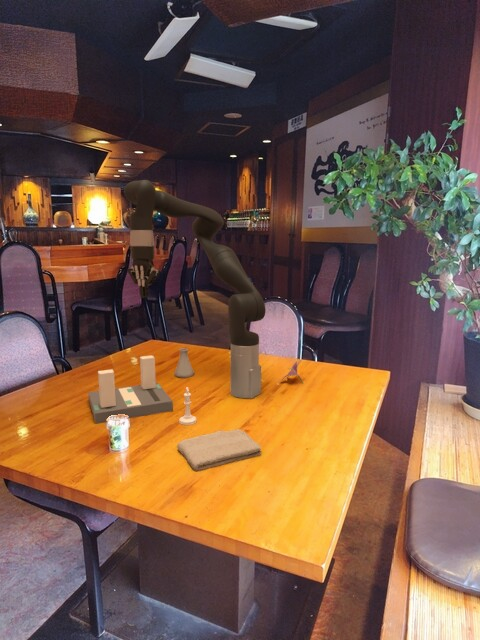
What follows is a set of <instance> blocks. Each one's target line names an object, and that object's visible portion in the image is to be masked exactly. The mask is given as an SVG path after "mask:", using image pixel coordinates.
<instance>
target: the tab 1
mask: <svg viewBox="0 0 480 640" xmlns="http://www.w3.org/2000/svg"><path fill="white" fill-rule="evenodd" d="M97 376H98V379H97V380H98V391H99V396H100V406H101V408H104V407H111V406H116V400H115V388H116V386H115V384H116V383H115V371H114V370H113V368H111V369H105V370H98V371H97Z"/></svg>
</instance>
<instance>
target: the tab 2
mask: <svg viewBox="0 0 480 640" xmlns="http://www.w3.org/2000/svg"><path fill="white" fill-rule="evenodd" d="M155 359H156V358H155V357H154V355H143V356H140V357H139V364H140V385H141V387H142V388H143V390H144V389H151V388H156V383H157V382H156V363H155V362H156V361H155Z"/></svg>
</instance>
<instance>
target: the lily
mask: <svg viewBox="0 0 480 640" xmlns="http://www.w3.org/2000/svg"><path fill="white" fill-rule="evenodd" d="M302 361H303V359H301V360H299V362H298V360H296V361H295V362H293V363H294V364H292V366H291V367H289V368H288V370H290V371H289V372H287V374H286V375H284V376H283V377H282V379H281V380H280V382H282V381H284V379H285V378H286V379H289V377H291V376H297V377H298V378H299V380H300V381H301V383H302V384H304V382H303V380H302V378H301V377H300V375H299V374H298V366H299V364H300V363H301V362H302Z"/></svg>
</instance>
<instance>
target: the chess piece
mask: <svg viewBox="0 0 480 640" xmlns="http://www.w3.org/2000/svg"><path fill="white" fill-rule="evenodd" d="M191 396H192V393H190V390H189V387H187V386H186V387H185V393H183V397H184V401H183V404H184V405H185V411H184V415H183V416H182V415H181V417H179V419H178V423H179V424H181V425H183V426H189V425H194V424H196V423H197V416H194V415H192V414H191V409H190V404H192V401H191Z"/></svg>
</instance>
